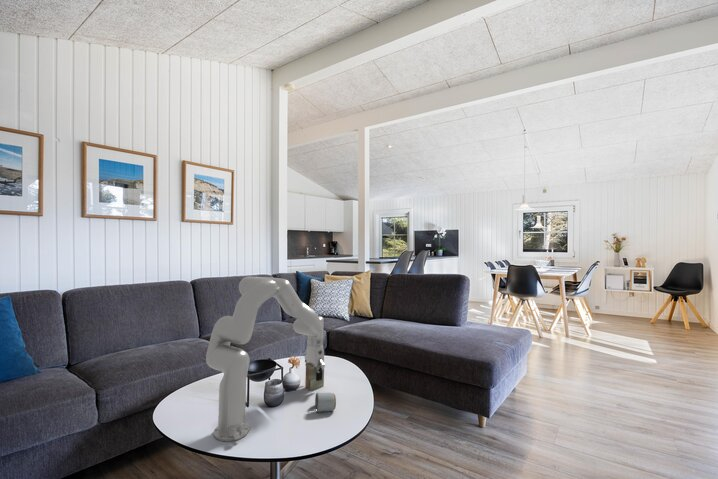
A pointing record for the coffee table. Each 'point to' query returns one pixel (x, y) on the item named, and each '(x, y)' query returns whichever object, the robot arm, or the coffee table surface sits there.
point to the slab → (312, 378)
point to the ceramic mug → (325, 401)
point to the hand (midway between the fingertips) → (313, 377)
